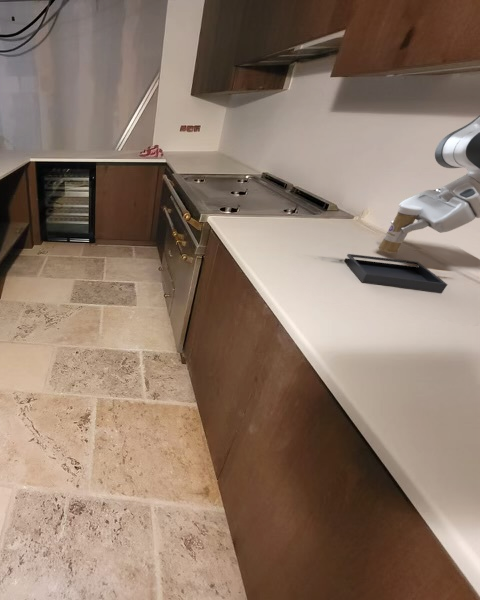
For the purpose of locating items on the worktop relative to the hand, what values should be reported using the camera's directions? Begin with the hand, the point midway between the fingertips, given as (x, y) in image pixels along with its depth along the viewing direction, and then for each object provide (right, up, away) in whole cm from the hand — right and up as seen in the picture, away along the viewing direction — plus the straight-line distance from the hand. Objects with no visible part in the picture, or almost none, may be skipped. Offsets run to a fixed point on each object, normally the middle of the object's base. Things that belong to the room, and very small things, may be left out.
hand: (397, 227), depth 94 cm
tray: (-6, -14, -4) cm, 16 cm away
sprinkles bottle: (+1, -6, +4) cm, 7 cm away
